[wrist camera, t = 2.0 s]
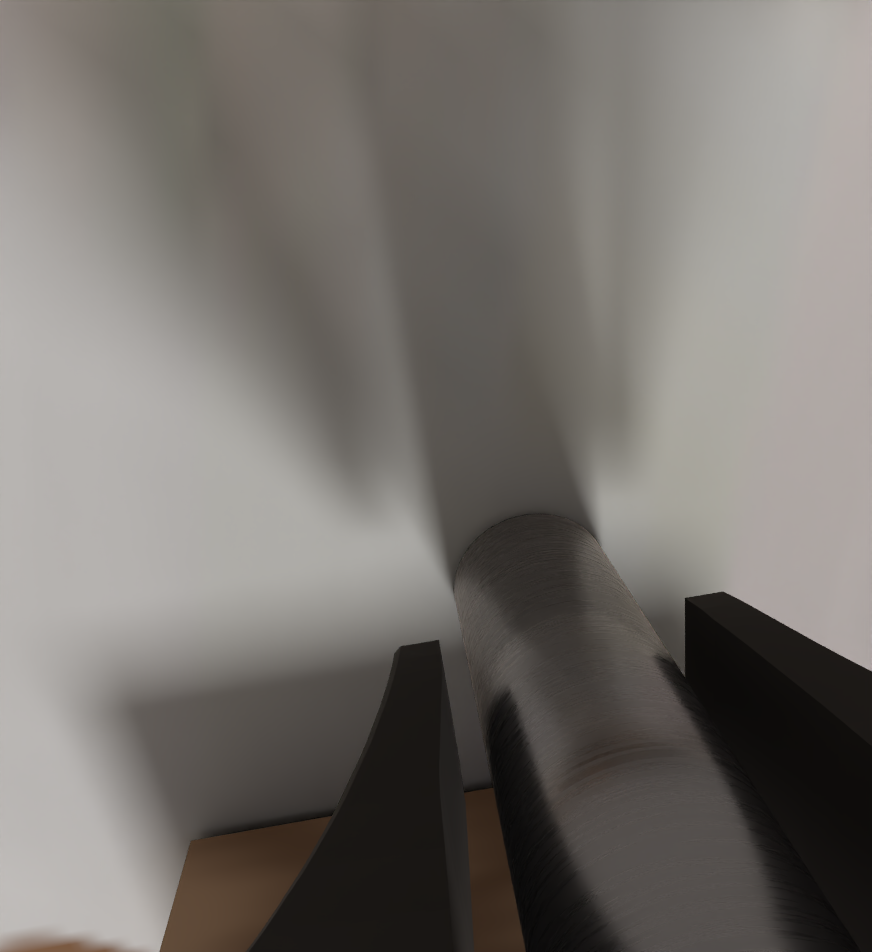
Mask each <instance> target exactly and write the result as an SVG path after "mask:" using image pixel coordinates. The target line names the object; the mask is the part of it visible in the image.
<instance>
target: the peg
mask: <svg viewBox="0 0 872 952" xmlns="http://www.w3.org/2000/svg"><path fill="white" fill-rule="evenodd" d="M454 593H455V601H456V606H457V611H458V616H459V621H460V626H461V631H462V636H463V641H464V646H465V651H466V656H467V661H468V666H469V671H470V676H471V681H472V686H473V691H474V696H475V701H476V706H477V711H478V716H479V721H480V726H481V731H482V736H483V741H484V746H485V751H486V756H487V761H488V766H489V771H490V776H491V780H492V785H493V790H494V795H495V800H496V805H497V810H498V815H499V820H500V825H501V830H502V835H503V840H504V845H505V850H506V855H507V860H508V865H509V870H510V875H511V880H512V885H513V890H514V895H515V900H516V905H517V910H518V915H519V920H520V925H521V930H522V935H523V940H524V945H525V950H526V952H861V951H860V949H859V948H858V946H857V944H856V943H855V941H854V940H853V938H852V937H851V935H850V934H849V932H848V930H847V929H846V927H845V926H844V924H843V923H842V921H841V920H840V918H839V916H838V915H837V913H836V912H835V910H834V909H833V907H832V906H831V904H830V902H829V901H828V899H827V898H826V896H825V895H824V893H823V892H822V890H821V888H820V887H819V885H818V884H817V882H816V881H815V879H814V878H813V876H812V875H811V873H810V871H809V870H808V868H807V867H806V865H805V864H804V862H803V861H802V859H801V857H800V856H799V854H798V853H797V851H796V850H795V848H794V847H793V845H792V843H791V842H790V840H789V839H788V837H787V836H786V834H785V833H784V831H783V829H782V828H781V826H780V825H779V823H778V822H777V820H776V819H775V817H774V815H773V814H772V812H771V811H770V809H769V808H768V806H767V805H766V803H765V801H764V800H763V798H762V797H761V795H760V794H759V792H758V791H757V789H756V787H755V786H754V784H753V783H752V781H751V780H750V778H749V777H748V775H747V773H746V772H745V770H744V769H743V767H742V766H741V764H740V763H739V761H738V759H737V758H736V756H735V755H734V753H733V752H732V750H731V749H730V747H729V745H728V744H727V742H726V741H725V739H724V738H723V736H722V735H721V733H720V732H719V730H718V728H717V727H716V725H715V724H714V722H713V721H712V719H711V718H710V716H709V714H708V713H707V711H706V710H705V708H704V707H703V705H702V704H701V702H700V700H699V699H698V697H697V696H696V694H695V693H694V691H693V690H692V688H691V686H690V685H689V683H688V682H687V680H686V679H685V677H684V676H683V674H682V672H681V671H680V669H679V668H678V666H677V665H676V663H675V662H674V660H673V658H672V657H671V655H670V654H669V652H668V651H667V649H666V648H665V646H664V644H663V643H662V641H661V640H660V638H659V637H658V635H657V634H656V632H655V630H654V629H653V627H652V626H651V624H650V623H649V621H648V620H647V618H646V616H645V615H644V613H643V612H642V610H641V609H640V607H639V606H638V604H637V602H636V601H635V599H634V598H633V596H632V595H631V593H630V592H629V590H628V589H627V587H626V585H625V584H624V582H623V581H622V579H621V578H620V576H619V575H618V573H617V571H616V570H615V568H614V567H613V565H612V564H611V562H610V561H609V559H608V557H607V556H606V554H605V553H604V551H603V550H602V548H601V547H600V545H599V544H598V542H597V541H596V539H595V538H594V537H593V536H592V535H591V534H590V533H589V532H588V531H587V530H586V529H584V528H583V527H582V526H580V525H578V524H577V523H575V522H573V521H571V520H568V519H566V518H563V517H559V516H555V515H548V514H529V515H522V516H518V517H514V518H511V519H508V520H505V521H503V522H501V523H499V524H497V525H495V526H493V527H491V528H490V529H488V530H487V531H485V532H484V533H483V534H482V535H480V536H479V537H478V538H477V539H476V540H475V541H474V542H473V543H472V544H471V545H470V547H469V548H468V549H467V551H466V552H465V554H464V556H463V557H462V559H461V561H460V563H459V566H458V569H457V572H456V576H455V583H454Z"/></svg>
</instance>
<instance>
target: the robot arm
mask: <svg viewBox="0 0 872 952" xmlns="http://www.w3.org/2000/svg"><path fill="white" fill-rule="evenodd" d="M685 679H686V680H687V682H688V683H689V685H690V686H691V688H692V690H693V691H694V693H695V694H696V696H697V697H698V699H699V700H700V702H701V704H702V705H703V707H704V708H705V710H706V711H707V713H708V714H709V716H710V718H711V719H712V721H713V722H714V724H715V725H716V727H717V728H718V730H719V732H720V733H721V735H722V736H723V738H724V739H725V741H726V742H727V744H728V745H729V747H730V749H731V750H732V752H733V753H734V755H735V756H736V758H737V759H738V761H739V763H740V764H741V766H742V767H743V769H744V770H745V772H746V773H747V775H748V777H749V778H750V780H751V781H752V783H753V784H754V786H755V787H756V789H757V791H758V792H759V794H760V795H761V797H762V798H763V800H764V801H765V803H766V805H767V806H768V808H769V809H770V811H771V812H772V814H773V815H774V817H775V819H776V820H777V822H778V823H779V825H780V826H781V828H782V829H783V831H784V833H785V834H786V836H787V837H788V839H789V840H790V842H791V843H792V845H793V847H794V848H795V850H796V851H797V853H798V854H799V856H800V857H801V859H802V861H803V862H804V864H805V865H806V867H807V868H808V870H809V871H810V873H811V875H812V876H813V878H814V879H815V881H816V882H817V884H818V885H819V887H820V888H821V890H822V892H823V893H824V895H825V896H826V898H827V899H828V901H829V902H830V904H831V906H832V907H833V909H834V910H835V912H836V913H837V915H838V916H839V918H840V920H841V921H842V923H843V924H844V926H845V927H846V929H847V930H848V932H849V934H850V935H851V937H852V938H853V940H854V941H855V943H856V944H857V946H858V948H859V949H860V951H861V952H872V671H870V670H868V669H866V668H864V667H862V666H860V665H858V664H856V663H854V662H852V661H850V660H848V659H846V658H844V657H843V656H841V655H839V654H837V653H835V652H833V651H831V650H829V649H828V648H826V647H824V646H822V645H820V644H818V643H816V642H815V641H813V640H811V639H809V638H807V637H806V636H804V635H802V634H800V633H798V632H797V631H795V630H793V629H791V628H789V627H788V626H786V625H784V624H782V623H780V622H779V621H777V620H775V619H773V618H771V617H770V616H768V615H766V614H764V613H763V612H761V611H759V610H757V609H755V608H754V607H752V606H750V605H748V604H746V603H744V602H743V601H741V600H739V599H737V598H735V597H733V596H731V595H729V594H727V593H725V592H718V593H712V594H706V595H700V596H695V597H689V598H685ZM246 952H474V939H473V921H472V904H471V886H470V869H469V851H468V834H467V817H466V802H465V796H464V789H463V783H462V776H461V770H460V764H459V757H458V751H457V744H456V738H455V732H454V726H453V720H452V715H451V709H450V703H449V697H448V691H447V685H446V679H445V673H444V668H443V662H442V656H441V650H440V644H439V640H436V641H430V642H424V643H418V644H412V645H406V646H401V647H400V648H399V649H398V650H397V651H396V652H395V654H394V659H393V664H392V669H391V673H390V677H389V680H388V684H387V687H386V690H385V693H384V696H383V699H382V702H381V706H380V708H379V711H378V714H377V716H376V719H375V722H374V724H373V727H372V729H371V732H370V735H369V737H368V740H367V742H366V745H365V747H364V750H363V752H362V754H361V757H360V759H359V761H358V763H357V765H356V767H355V770H354V772H353V774H352V776H351V778H350V780H349V782H348V785H347V787H346V789H345V791H344V793H343V795H342V797H341V799H340V801H339V803H338V805H337V807H336V809H335V811H334V813H333V815H332V817H331V819H330V821H329V822H328V824H327V826H326V828H325V830H324V832H323V833H322V835H321V837H320V839H319V840H318V842H317V844H316V846H315V847H314V849H313V851H312V853H311V854H310V856H309V858H308V859H307V861H306V863H305V864H304V866H303V868H302V869H301V871H300V872H299V874H298V875H297V877H296V879H295V880H294V882H293V883H292V885H291V886H290V888H289V890H288V891H287V893H286V894H285V896H284V897H283V899H282V901H281V902H280V904H279V905H278V907H277V908H276V910H275V911H274V913H273V914H272V916H271V917H270V919H269V920H268V922H267V923H266V924H265V926H264V927H263V929H262V930H261V932H260V933H259V934H258V936H257V937H256V939H255V940H254V941H253V943H252V944H251V945H250V947H249V948H248V949H247V951H246Z"/></svg>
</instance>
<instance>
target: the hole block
mask: <svg viewBox="0 0 872 952" xmlns="http://www.w3.org/2000/svg"><path fill="white" fill-rule="evenodd" d="M464 796H465V802H466V817H467V834H468V851H469V869H470V886H471V904H472V921H473V939H474V952H526V950H525V945H524V940H523V935H522V930H521V925H520V920H519V915H518V910H517V905H516V900H515V895H514V890H513V885H512V880H511V875H510V870H509V865H508V860H507V855H506V850H505V845H504V840H503V835H502V830H501V825H500V820H499V815H498V810H497V805H496V800H495V795H494V790H493V788H489V789H483V790H477V791H472V792H466V793H464ZM331 817H332V816H329V817H323V818H318V819H312V820H306V821H301V822H295V823H289V824H283V825H278V826H272V827H266V828H261V829H255V830H249V831H243V832H238V833H232V834H226V835H221V836H215V837H209V838H204V839H198V840H192V841H191V842H190V846H189V849H188V853H187V857H186V860H185V864H184V867H183V871H182V874H181V878H180V881H179V885H178V888H177V892H176V895H175V899H174V902H173V906H172V910H171V913H170V917H169V920H168V924H167V927H166V931H165V934H164V938H163V941H162V945H161V948H160V952H246V951H247V949H248V948H249V947H250V945H251V944H252V943H253V941H254V940H255V939H256V937H257V936H258V934H259V933H260V932H261V930H262V929H263V927H264V926H265V924H266V923H267V922H268V920H269V919H270V917H271V916H272V914H273V913H274V911H275V910H276V908H277V907H278V905H279V904H280V902H281V901H282V899H283V897H284V896H285V894H286V893H287V891H288V890H289V888H290V886H291V885H292V883H293V882H294V880H295V879H296V877H297V875H298V874H299V872H300V871H301V869H302V868H303V866H304V864H305V863H306V861H307V859H308V858H309V856H310V854H311V853H312V851H313V849H314V847H315V846H316V844H317V842H318V840H319V839H320V837H321V835H322V833H323V832H324V830H325V828H326V826H327V824H328V822H329V821H330V819H331Z"/></svg>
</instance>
